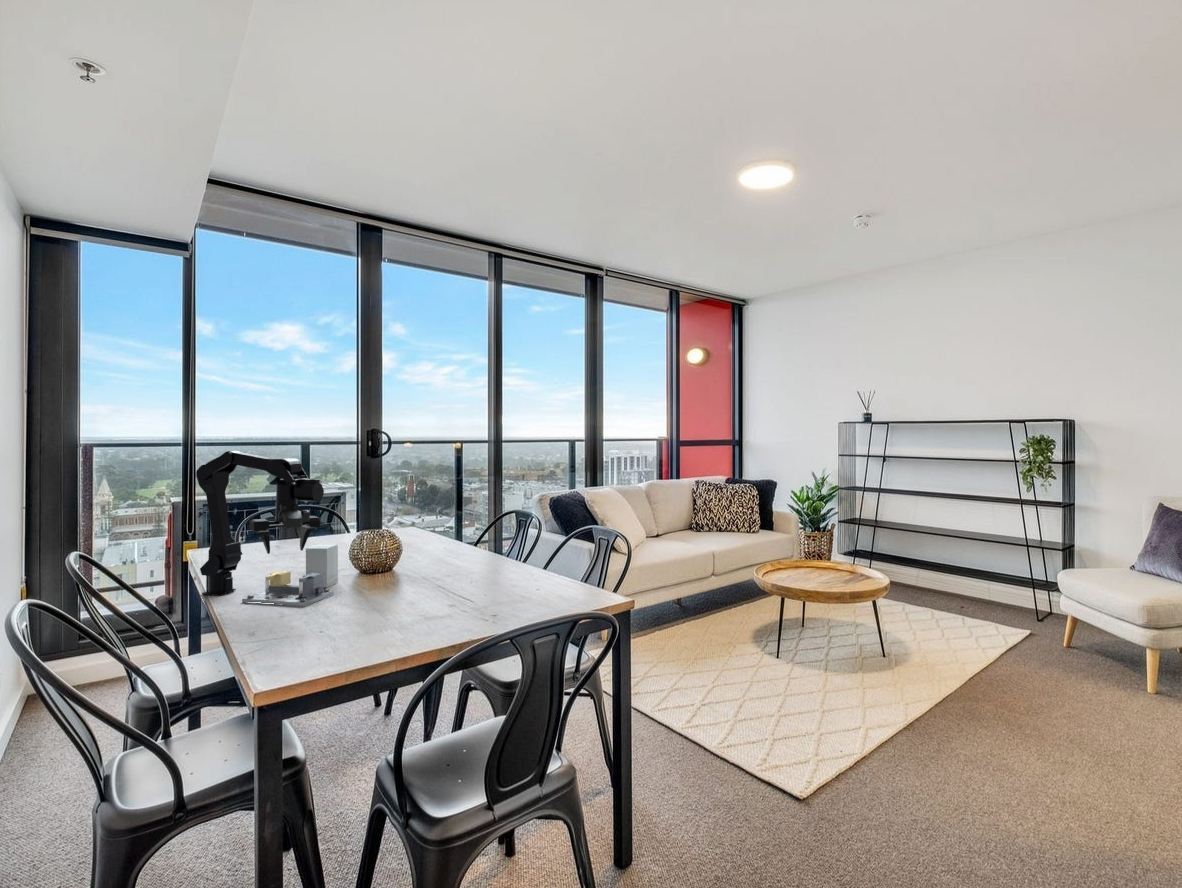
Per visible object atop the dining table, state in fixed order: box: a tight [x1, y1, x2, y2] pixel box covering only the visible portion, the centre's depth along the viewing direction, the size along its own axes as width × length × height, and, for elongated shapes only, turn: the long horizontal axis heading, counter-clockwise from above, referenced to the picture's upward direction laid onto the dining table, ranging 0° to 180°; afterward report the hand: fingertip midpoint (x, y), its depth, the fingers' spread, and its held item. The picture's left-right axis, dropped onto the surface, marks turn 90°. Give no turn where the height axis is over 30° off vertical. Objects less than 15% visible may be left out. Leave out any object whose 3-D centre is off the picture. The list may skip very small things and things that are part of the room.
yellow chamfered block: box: [264, 570, 292, 595], centre depth 181 cm, size 4×8×5 cm, turn 169°
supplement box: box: [305, 543, 339, 588], centre depth 196 cm, size 7×7×13 cm
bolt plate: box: [241, 573, 335, 608], centre depth 179 cm, size 20×14×7 cm
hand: (285, 551), depth 182 cm, fingers open, 9 cm apart
